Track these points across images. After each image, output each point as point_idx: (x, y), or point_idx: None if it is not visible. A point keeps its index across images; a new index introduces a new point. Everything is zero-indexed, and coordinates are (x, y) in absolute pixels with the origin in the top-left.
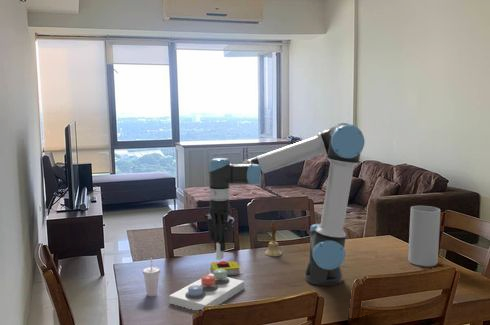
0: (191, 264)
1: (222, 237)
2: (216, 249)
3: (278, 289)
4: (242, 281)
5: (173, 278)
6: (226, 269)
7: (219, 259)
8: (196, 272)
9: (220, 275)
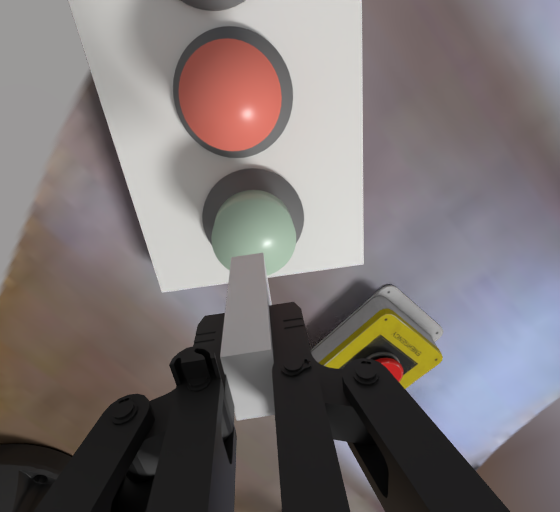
0: (532, 323)
1: (162, 453)
2: (266, 300)
3: (60, 346)
4: (164, 283)
5: (530, 155)
6: (340, 347)
7: (233, 259)
8: (465, 276)
9: (223, 208)
